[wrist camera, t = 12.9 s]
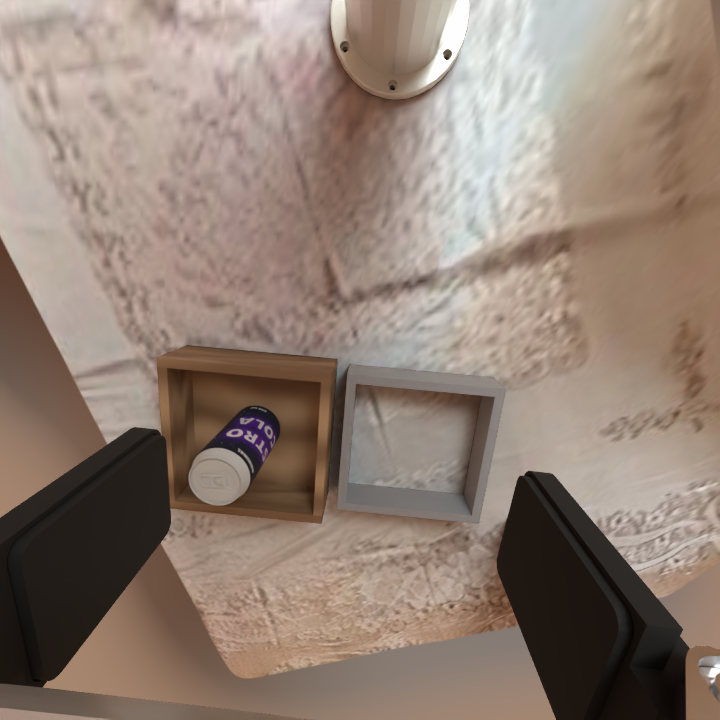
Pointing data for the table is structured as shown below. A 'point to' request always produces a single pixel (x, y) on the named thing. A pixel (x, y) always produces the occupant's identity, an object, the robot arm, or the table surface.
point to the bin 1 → (230, 395)
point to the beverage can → (234, 456)
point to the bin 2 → (417, 500)
